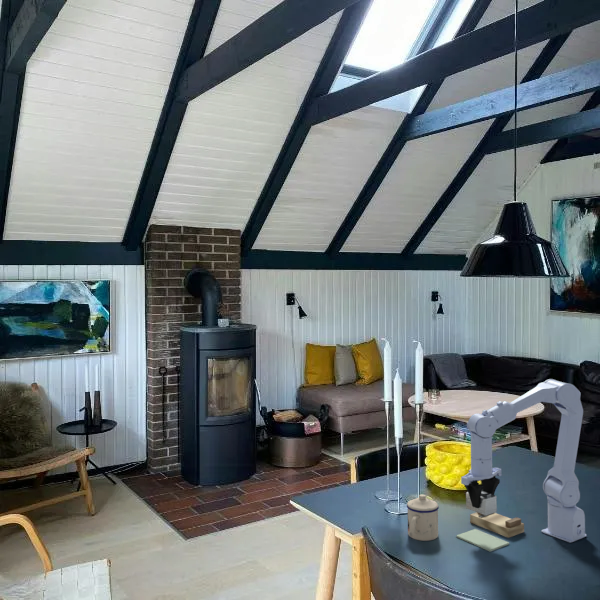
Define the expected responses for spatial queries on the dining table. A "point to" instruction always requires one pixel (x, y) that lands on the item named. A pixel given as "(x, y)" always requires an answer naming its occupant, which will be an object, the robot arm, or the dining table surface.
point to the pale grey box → (483, 503)
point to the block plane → (498, 523)
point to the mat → (482, 540)
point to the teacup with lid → (422, 518)
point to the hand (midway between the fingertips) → (481, 505)
